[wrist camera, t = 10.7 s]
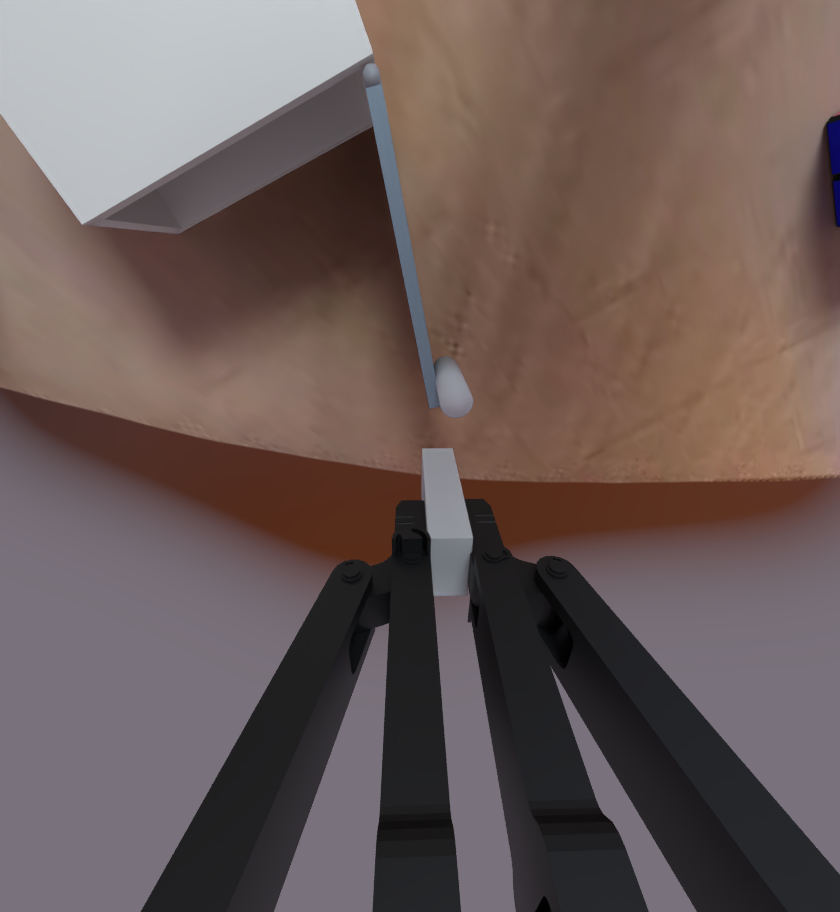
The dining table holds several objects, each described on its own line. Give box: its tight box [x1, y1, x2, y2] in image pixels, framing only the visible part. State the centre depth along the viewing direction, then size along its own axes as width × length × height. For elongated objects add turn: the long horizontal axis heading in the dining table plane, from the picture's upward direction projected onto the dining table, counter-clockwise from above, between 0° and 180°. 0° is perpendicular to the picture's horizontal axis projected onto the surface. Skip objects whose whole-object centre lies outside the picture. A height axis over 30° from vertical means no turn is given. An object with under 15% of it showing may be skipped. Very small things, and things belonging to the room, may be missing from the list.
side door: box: [363, 63, 473, 418], centre depth 30 cm, size 22×3×16 cm, turn 11°
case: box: [0, 0, 375, 234], centre depth 25 cm, size 22×16×12 cm
